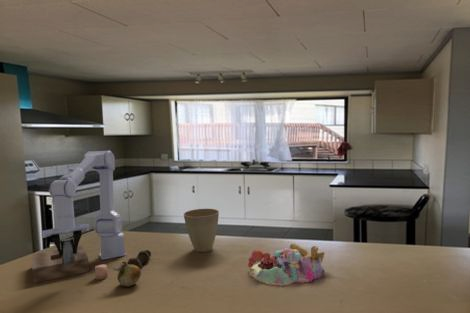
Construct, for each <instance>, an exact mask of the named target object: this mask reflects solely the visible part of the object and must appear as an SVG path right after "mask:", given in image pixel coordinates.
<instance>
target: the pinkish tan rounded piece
mask: <svg viewBox="0 0 470 313" xmlns="http://www.w3.org/2000/svg"><path fill="white" fill-rule="evenodd" d="M94 273H95V274H94V276H95V280H98V281H100V280H101V281H102V280H105V279H107V278H108V276H109V275H108V265H107V264H98V265H96V266H94Z"/></svg>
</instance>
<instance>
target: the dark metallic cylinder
mask: <svg viewBox="0 0 470 313" xmlns="http://www.w3.org/2000/svg"><path fill="white" fill-rule="evenodd" d="M60 247H61V253H62V265H71V264H74V263H75V253H74V239H73V238H69V237H68V238H64V239H60Z"/></svg>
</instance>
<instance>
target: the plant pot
mask: <svg viewBox="0 0 470 313" xmlns="http://www.w3.org/2000/svg"><path fill="white" fill-rule="evenodd" d="M219 212H220V211H219V210H218V209H216V208H196V209H192V210H191V209H190V210H187V211H185V212H184V213H183V218H184V219H183V220H184V223H185V226H186V231H187V233H188V237H189V239H190V242H191V244H192V247H193V249H194V251H195V252H198V253H199V252H200V253H205V252H210V251H212V250H213V246H214V245H215V240H216V235H217V230H218V226H219V225H218V224H219V214H220V213H219Z"/></svg>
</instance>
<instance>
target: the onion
mask: <svg viewBox="0 0 470 313" xmlns="http://www.w3.org/2000/svg"><path fill="white" fill-rule="evenodd" d="M127 262H128V261H122V262H121V263H119V266H118V267H117V266H112V270H113V271H115V272H117V278H116V279H117V280H118V283H119V284H120V285H121V286H122V287H129V288H130V287H131V286H133V285H135V284H137V283H138V282H139V281H140V280H139V279H140V277H141V276H142V272H141V269H139V267H138V266H136V265H129V264H127Z"/></svg>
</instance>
